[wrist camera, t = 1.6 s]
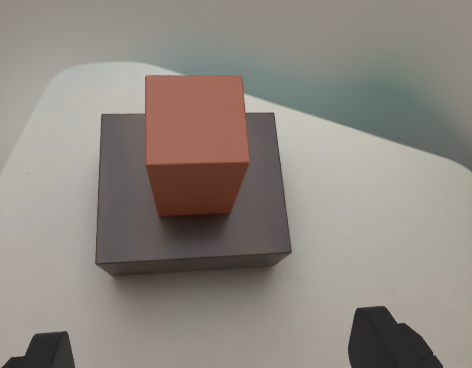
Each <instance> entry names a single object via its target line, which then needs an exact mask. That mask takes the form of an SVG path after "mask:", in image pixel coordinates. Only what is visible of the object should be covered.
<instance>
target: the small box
mask: <svg viewBox="0 0 472 368" xmlns="http://www.w3.org/2000/svg"><path fill="white" fill-rule="evenodd" d="M249 164H250V154H249V144H248V133H247V123H246V113H245V103H244V93H243V82H242V76H158V75H147V76H146V77H145V165H146V169H147V173H148V177H149V181H150V185H151V189H152V193H153V197H154V201H155V205H156V209H157V213H158V216H174V215H197V214H220V213H231V211H232V208H233V205H234V203H235V200H236V198H237V195H238V192H239V190H240V187H241V185H242V182H243V179H244V177H245V174H246V172H247V169H248V166H249Z"/></svg>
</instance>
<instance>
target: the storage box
mask: <svg viewBox="0 0 472 368" xmlns="http://www.w3.org/2000/svg"><path fill="white" fill-rule="evenodd" d="M246 123H247V133H248V144H249V154H250V164H249V166H248V169H247V172H246V174H245V177H244V179H243V182H242V185H241V187H240V190H239V192H238V195H237V198H236V200H235V203H234V205H233V208H232V211H231V213H220V214H197V215H174V216H158V213H157V209H156V205H155V201H154V197H153V193H152V189H151V185H150V181H149V177H148V173H147V169H146V165H145V114H102V115H101V138H100V162H99V187H98V211H97V235H96V259H95V264H96V265H97V266H99V267H100V268H101V269H103V270H104V271H106V272H107V273H108V274H110V275H111V276H122V275H137V274H153V273H169V272H185V271H201V270H217V269H233V268H248V267H264V266H274V265H275V264H277V263H278V262H279V261H281V260H282V259H284V258H285V257H286V256H288V255H289V254H290V253H291V252H292V251H291V243H290V235H289V227H288V219H287V211H286V203H285V195H284V188H283V180H282V172H281V164H280V156H279V148H278V140H277V132H276V124H275V116H274V113H246Z"/></svg>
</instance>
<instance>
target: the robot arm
mask: <svg viewBox="0 0 472 368" xmlns="http://www.w3.org/2000/svg"><path fill="white" fill-rule="evenodd" d="M348 355H349V361H350V364H351V367H352V368H443V365H442V364H441V363H440V361H439V360H438V358H437V357H436V356H434V355H433V352H432V350H431V349H430V348H429V346H428V345H427V343H426V342H425V341H424V339H423V338H422V337H421V336H420V335H419V334H418V333H416V332H415V331H414V330H413V329H411V328H410V327H409V326H408V325H406V324H405V323H400V324H397V322H396V321H395V319H394V318H393V317H392V315H391V314H390V312H389V311H388V309H387V308H386V307H384V306H375V307H363V308H357V309H356V311H355V315H354V320H353V325H352V330H351V335H350V340H349V345H348ZM2 368H75V364H74V359H73V355H72V350H71V345H70V340H69V336H68V333H67V332H66V331H63V332H51V333H38V334H35V335H34V336H33V338H32V340H31V342H30V345H29V347H28V349H27V352H26V354H25V356H22V357H11V358H10V359H9V360H8V361H7V363H6V364H5V365H4V366H3V367H2Z"/></svg>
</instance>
